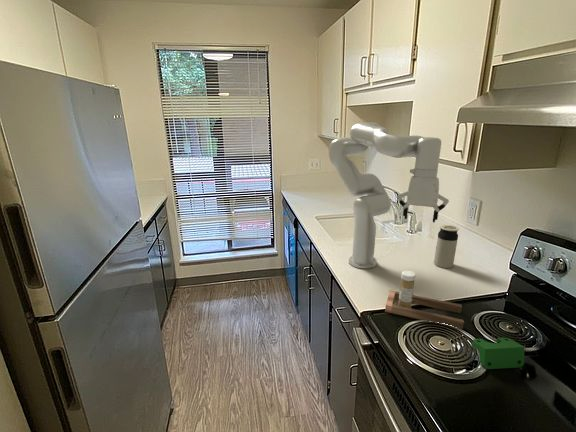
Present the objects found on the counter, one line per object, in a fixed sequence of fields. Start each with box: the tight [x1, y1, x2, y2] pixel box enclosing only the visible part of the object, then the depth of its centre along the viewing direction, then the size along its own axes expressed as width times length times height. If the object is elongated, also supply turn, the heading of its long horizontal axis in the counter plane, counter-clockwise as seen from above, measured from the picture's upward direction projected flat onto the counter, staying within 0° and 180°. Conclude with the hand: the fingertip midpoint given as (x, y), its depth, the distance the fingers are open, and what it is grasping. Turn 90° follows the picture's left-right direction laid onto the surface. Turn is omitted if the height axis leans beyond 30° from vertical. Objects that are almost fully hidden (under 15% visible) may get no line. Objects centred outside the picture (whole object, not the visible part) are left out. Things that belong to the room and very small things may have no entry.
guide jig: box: [384, 290, 465, 330], centre depth 113 cm, size 11×24×2 cm, turn 66°
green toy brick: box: [472, 337, 525, 370], centre depth 90 cm, size 12×6×9 cm, turn 89°
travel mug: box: [433, 224, 460, 269], centre depth 145 cm, size 8×8×18 cm
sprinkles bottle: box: [397, 270, 417, 309], centre depth 113 cm, size 5×5×14 cm
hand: (419, 219), depth 119 cm, fingers open, 9 cm apart
